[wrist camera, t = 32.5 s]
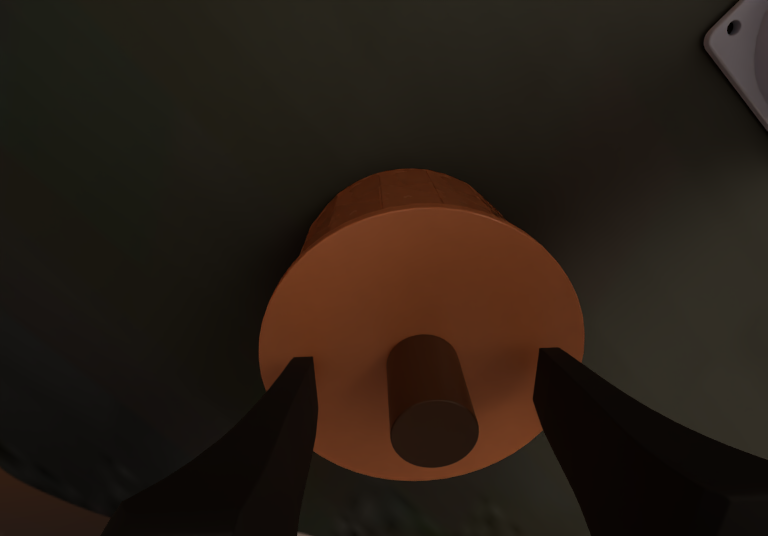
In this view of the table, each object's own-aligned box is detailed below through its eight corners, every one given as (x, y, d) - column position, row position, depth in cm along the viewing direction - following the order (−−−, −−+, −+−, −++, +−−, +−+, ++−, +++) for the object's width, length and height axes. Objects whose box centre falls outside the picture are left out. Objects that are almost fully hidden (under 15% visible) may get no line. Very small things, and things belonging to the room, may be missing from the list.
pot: (398, 119, 19) (412, 145, 13) (552, 260, 22) (627, 340, 15) (261, 282, 22) (216, 371, 16) (413, 388, 25) (428, 500, 18)
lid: (374, 126, 13) (376, 151, 9) (636, 305, 16) (725, 384, 12) (213, 384, 16) (163, 483, 13) (449, 494, 19) (470, 605, 15)
